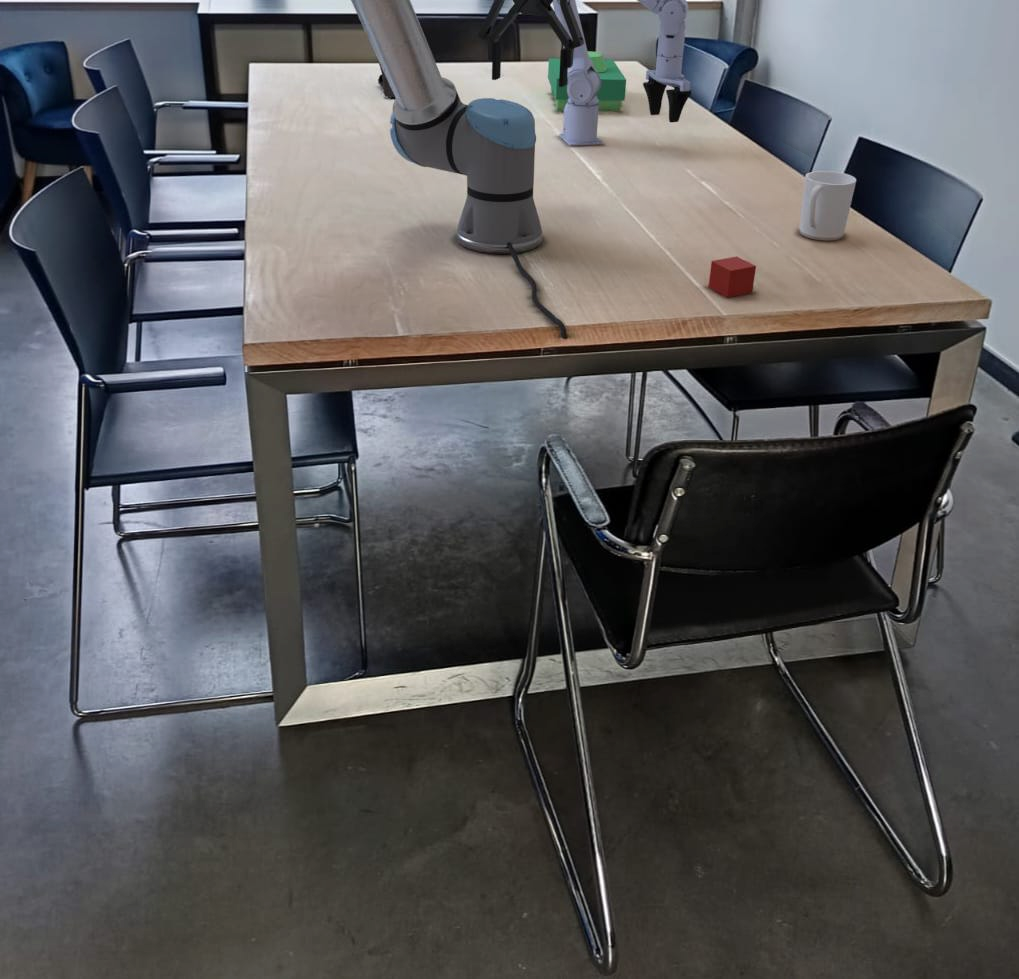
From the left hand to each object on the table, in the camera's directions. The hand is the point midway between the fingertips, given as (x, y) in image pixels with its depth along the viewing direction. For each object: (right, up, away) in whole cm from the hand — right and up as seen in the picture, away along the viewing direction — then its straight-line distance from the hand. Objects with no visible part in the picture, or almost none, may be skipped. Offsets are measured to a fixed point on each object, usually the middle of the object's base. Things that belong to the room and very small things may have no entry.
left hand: (529, 82), depth 210 cm
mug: (+53, -31, -8) cm, 62 cm away
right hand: (+32, +7, +40) cm, 51 cm away
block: (+32, -46, -33) cm, 65 cm away
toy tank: (+16, +27, +86) cm, 92 cm away
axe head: (-33, +31, +90) cm, 101 cm away
